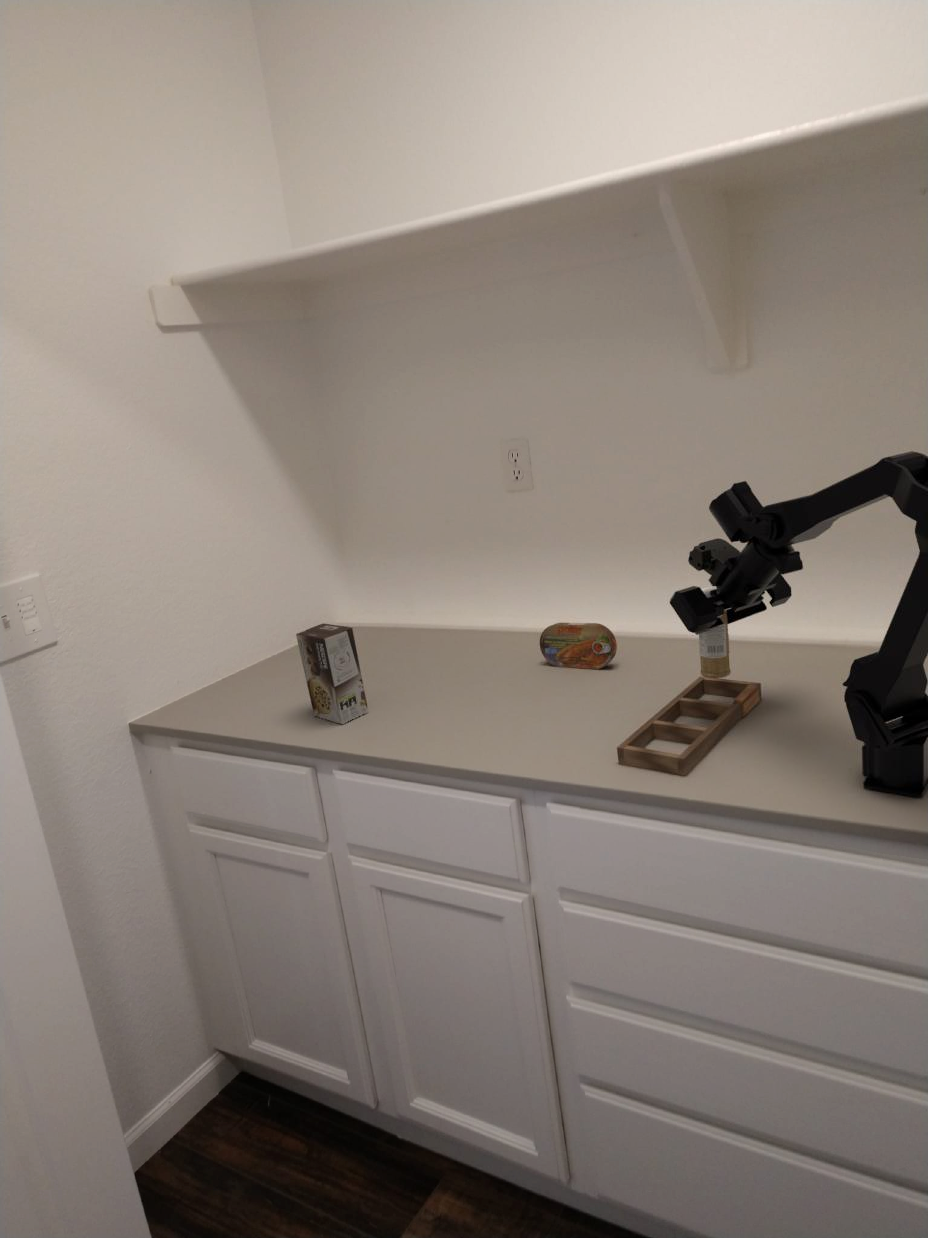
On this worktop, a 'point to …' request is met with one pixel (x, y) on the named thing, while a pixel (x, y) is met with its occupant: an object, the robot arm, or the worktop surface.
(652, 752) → the rack
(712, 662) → the sprinkles bottle
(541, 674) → the worktop surface
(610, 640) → the tin
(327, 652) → the coffee box
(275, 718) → the worktop surface
